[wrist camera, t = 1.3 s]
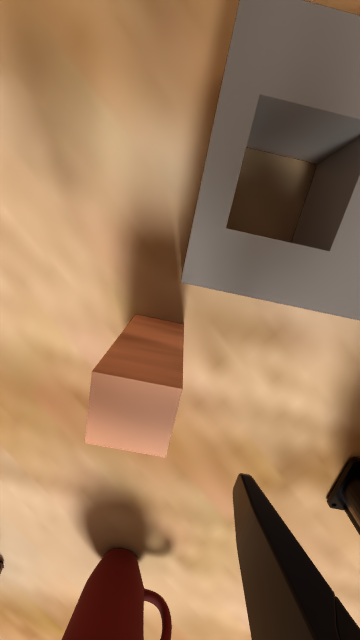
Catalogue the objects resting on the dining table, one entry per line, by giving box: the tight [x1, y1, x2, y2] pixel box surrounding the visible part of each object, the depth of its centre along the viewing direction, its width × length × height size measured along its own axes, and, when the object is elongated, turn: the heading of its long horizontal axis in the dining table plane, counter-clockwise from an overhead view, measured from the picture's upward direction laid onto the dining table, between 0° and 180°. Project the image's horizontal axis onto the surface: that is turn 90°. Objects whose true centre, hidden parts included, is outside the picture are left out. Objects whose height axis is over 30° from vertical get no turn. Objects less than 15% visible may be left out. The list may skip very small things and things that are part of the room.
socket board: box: [181, 0, 360, 320], centre depth 13 cm, size 12×18×5 cm, turn 78°
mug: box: [62, 548, 172, 640], centre depth 23 cm, size 10×8×10 cm
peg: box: [85, 315, 184, 458], centre depth 15 cm, size 4×4×9 cm
